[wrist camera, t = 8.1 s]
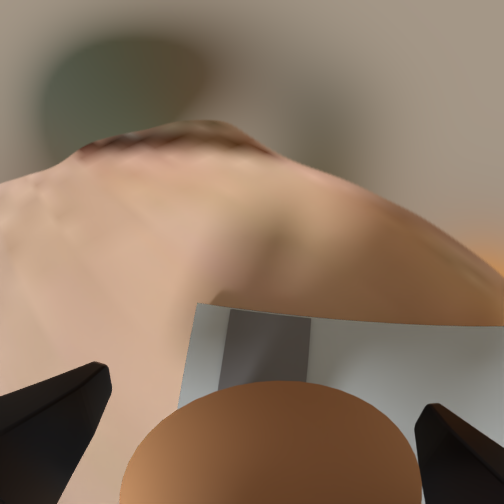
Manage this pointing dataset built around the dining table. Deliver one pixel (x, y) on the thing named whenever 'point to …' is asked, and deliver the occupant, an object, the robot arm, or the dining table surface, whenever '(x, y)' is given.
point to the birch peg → (274, 451)
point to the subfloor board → (379, 367)
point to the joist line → (264, 348)
